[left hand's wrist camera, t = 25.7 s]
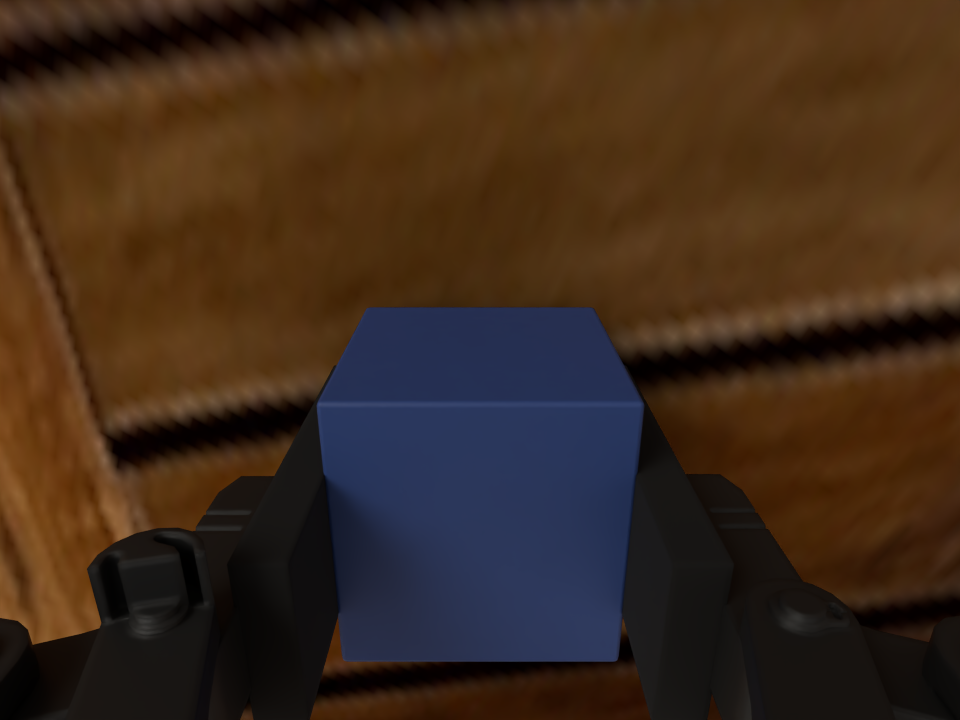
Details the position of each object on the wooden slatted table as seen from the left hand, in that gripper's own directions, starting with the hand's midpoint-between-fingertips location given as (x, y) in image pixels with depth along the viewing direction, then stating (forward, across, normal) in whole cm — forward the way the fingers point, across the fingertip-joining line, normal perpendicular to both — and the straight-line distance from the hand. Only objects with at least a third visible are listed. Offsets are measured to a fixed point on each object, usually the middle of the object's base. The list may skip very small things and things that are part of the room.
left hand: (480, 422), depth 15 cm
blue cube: (0, 0, 0) cm, 0 cm away
